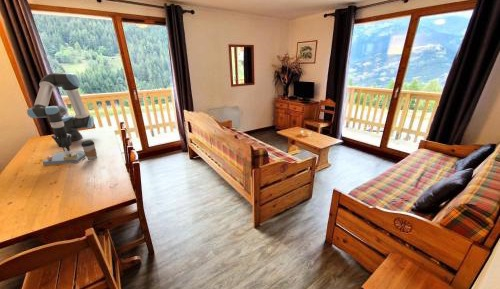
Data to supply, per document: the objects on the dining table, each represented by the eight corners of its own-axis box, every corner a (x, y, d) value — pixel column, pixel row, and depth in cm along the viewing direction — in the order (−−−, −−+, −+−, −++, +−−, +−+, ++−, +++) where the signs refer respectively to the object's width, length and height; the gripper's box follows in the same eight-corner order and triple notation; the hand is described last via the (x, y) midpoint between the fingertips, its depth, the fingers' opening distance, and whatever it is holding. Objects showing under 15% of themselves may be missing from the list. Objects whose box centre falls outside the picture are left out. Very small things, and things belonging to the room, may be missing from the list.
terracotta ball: (49, 159, 163) (48, 155, 162) (54, 159, 163) (52, 155, 162) (46, 161, 160) (45, 157, 159) (51, 160, 161) (49, 157, 159)
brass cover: (69, 157, 166) (67, 153, 164) (77, 157, 166) (76, 152, 165) (64, 160, 160) (62, 156, 159) (73, 160, 161) (71, 155, 159)
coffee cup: (92, 161, 165) (86, 144, 159) (83, 160, 166) (77, 143, 160) (101, 157, 172) (96, 140, 166) (92, 156, 174) (87, 139, 168)
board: (58, 155, 175) (57, 152, 174) (89, 153, 179) (89, 150, 178) (43, 164, 160) (42, 161, 159) (78, 162, 163) (77, 159, 162)
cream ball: (68, 152, 175) (66, 149, 174) (72, 152, 175) (71, 148, 174) (65, 154, 172) (64, 150, 171) (69, 153, 172) (68, 150, 171)
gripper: (45, 128, 155) (56, 157, 164) (64, 127, 157) (74, 156, 166) (52, 125, 162) (62, 153, 171) (70, 124, 164) (80, 152, 173)
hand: (68, 154), depth 168 cm, fingers closed
